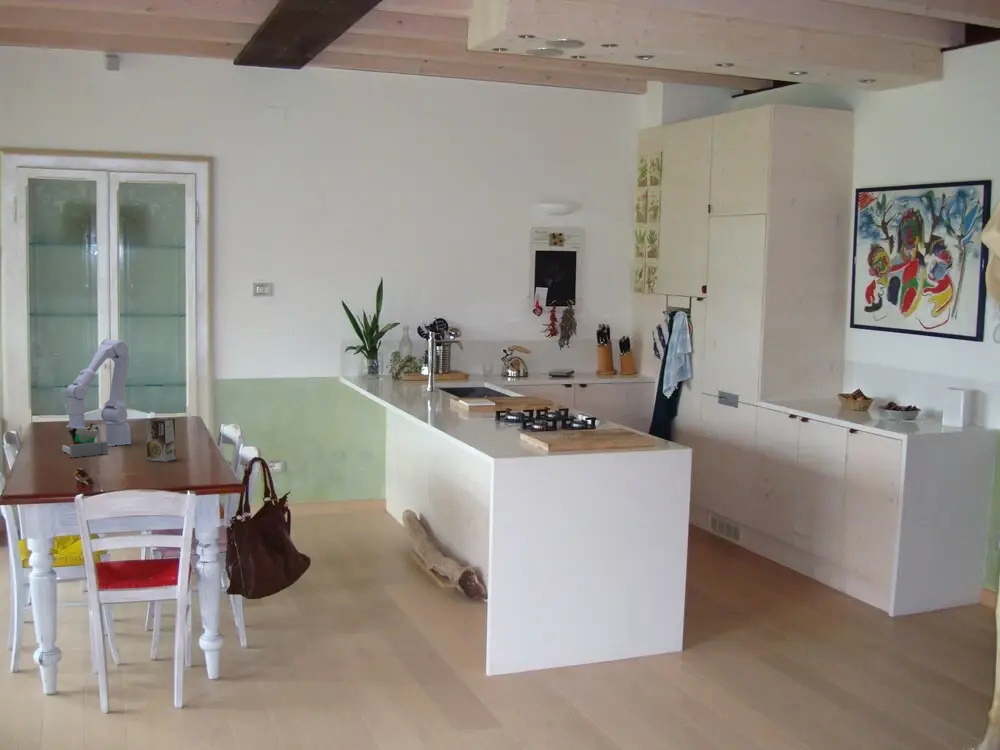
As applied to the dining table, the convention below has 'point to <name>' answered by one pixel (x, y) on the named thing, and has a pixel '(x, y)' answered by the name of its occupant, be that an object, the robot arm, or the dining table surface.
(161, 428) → the coffee box
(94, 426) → the food container
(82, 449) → the grey flat tray
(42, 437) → the dining table surface
